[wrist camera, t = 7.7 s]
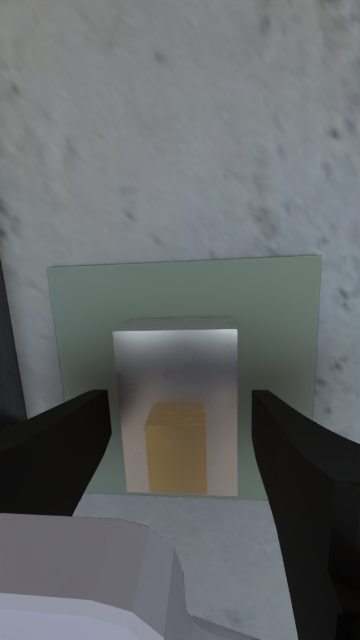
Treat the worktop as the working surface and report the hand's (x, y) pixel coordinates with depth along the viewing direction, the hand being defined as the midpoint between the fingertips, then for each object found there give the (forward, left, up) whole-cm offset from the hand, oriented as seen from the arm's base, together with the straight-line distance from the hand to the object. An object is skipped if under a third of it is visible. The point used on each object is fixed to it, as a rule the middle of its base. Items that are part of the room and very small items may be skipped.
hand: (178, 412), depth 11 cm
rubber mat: (0, 0, -2) cm, 2 cm away
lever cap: (0, 0, -2) cm, 2 cm away
